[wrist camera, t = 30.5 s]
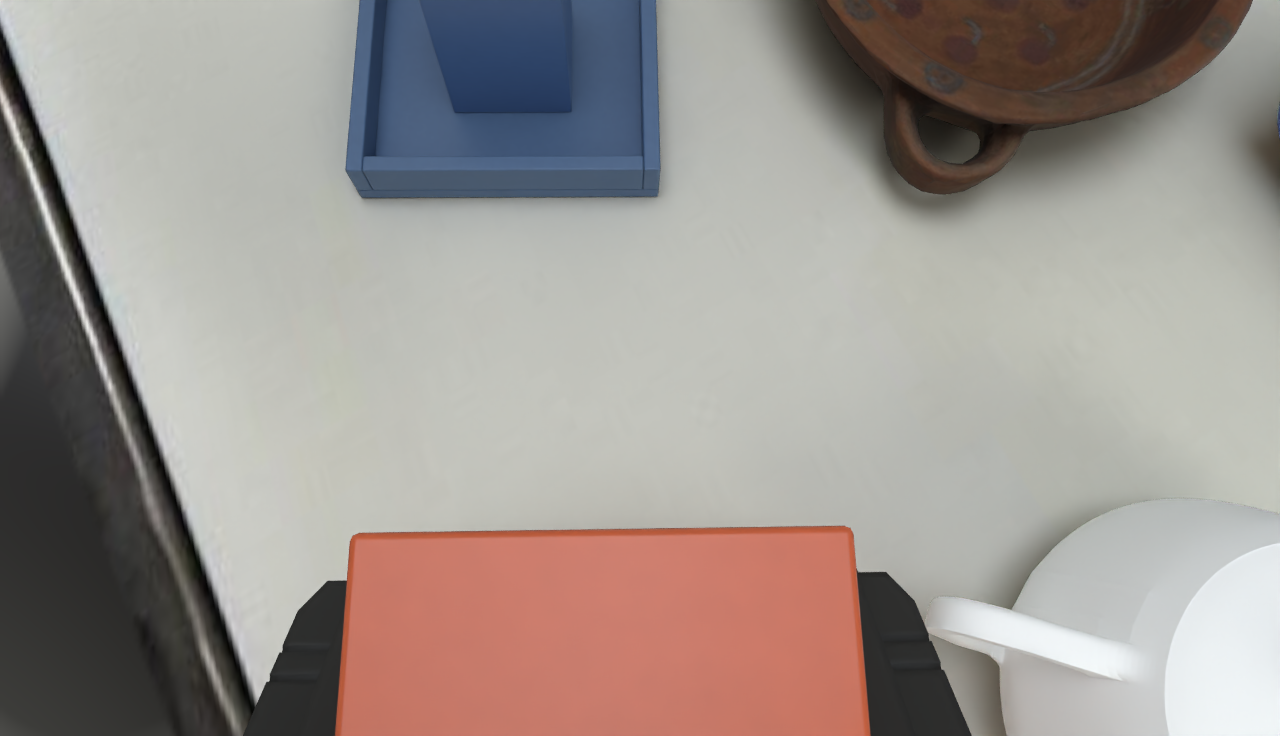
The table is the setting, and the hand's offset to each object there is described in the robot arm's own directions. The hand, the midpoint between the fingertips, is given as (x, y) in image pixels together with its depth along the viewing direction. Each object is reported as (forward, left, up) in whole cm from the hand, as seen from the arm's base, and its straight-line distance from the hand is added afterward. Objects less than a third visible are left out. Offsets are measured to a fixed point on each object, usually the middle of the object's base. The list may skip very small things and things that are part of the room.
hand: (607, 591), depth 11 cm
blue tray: (-4, +21, -18) cm, 28 cm away
